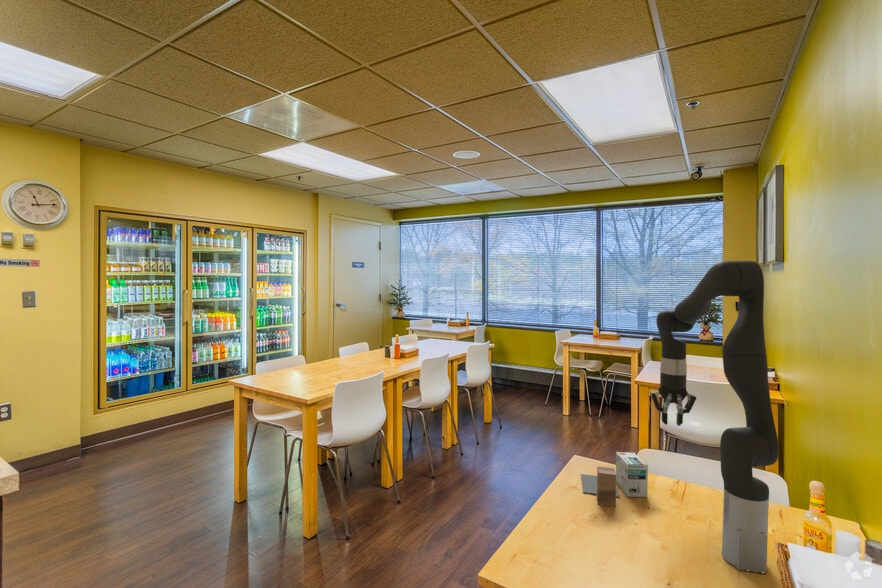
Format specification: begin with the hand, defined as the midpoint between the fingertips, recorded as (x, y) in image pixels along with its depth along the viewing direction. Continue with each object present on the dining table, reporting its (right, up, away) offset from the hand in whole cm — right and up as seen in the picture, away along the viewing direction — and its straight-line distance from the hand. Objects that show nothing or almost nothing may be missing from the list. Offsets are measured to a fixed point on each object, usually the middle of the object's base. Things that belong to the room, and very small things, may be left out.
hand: (672, 424), depth 143 cm
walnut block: (-23, -23, -5) cm, 33 cm away
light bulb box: (-12, -23, +4) cm, 26 cm away
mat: (-22, -23, +6) cm, 32 cm away
